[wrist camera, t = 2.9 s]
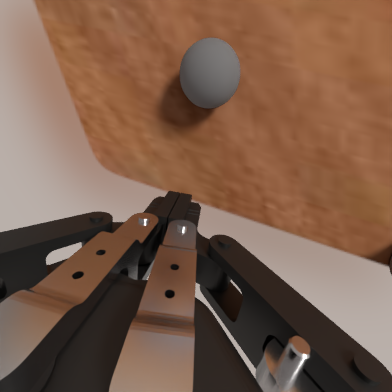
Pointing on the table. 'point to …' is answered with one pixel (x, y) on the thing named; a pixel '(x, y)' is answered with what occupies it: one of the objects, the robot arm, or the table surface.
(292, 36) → the table surface
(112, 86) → the table surface
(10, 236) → the robot arm
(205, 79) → the grey ball
